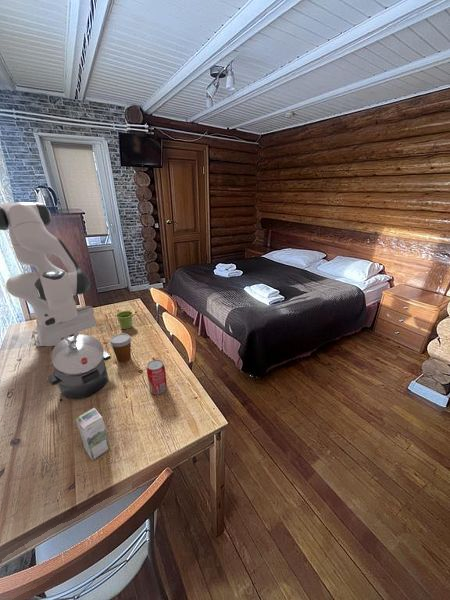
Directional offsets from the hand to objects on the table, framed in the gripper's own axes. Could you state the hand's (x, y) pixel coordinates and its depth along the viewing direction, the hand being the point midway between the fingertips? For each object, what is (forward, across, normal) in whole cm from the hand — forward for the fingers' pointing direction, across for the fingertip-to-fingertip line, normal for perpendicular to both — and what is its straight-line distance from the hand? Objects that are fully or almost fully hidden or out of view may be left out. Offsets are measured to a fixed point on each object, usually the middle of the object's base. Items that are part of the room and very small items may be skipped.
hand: (72, 343), depth 104 cm
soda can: (+20, -19, +28) cm, 39 cm away
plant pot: (+19, -37, -30) cm, 51 cm away
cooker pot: (+20, 0, +2) cm, 20 cm away
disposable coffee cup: (+20, -20, -2) cm, 28 cm away
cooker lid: (+4, 0, +2) cm, 5 cm away
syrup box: (+20, +10, +36) cm, 43 cm away
